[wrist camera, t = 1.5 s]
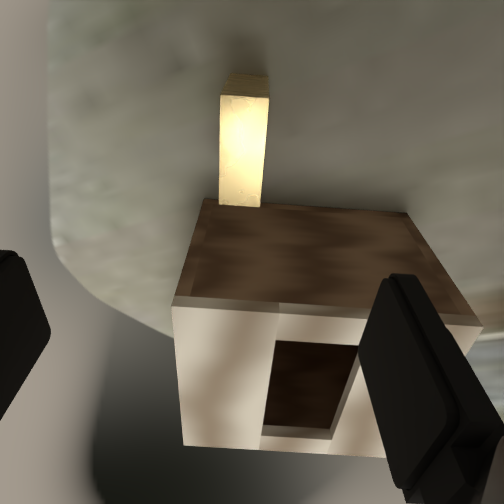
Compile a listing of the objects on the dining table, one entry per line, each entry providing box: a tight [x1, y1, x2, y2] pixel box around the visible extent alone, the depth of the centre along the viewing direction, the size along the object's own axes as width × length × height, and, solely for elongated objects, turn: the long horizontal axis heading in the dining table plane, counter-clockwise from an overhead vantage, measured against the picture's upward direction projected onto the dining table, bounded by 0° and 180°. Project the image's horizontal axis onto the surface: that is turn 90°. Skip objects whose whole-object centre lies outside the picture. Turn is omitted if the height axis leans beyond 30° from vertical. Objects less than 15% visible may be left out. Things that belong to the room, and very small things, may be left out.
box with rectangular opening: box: [171, 199, 484, 458], centre depth 27 cm, size 16×14×12 cm
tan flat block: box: [219, 73, 269, 207], centre depth 22 cm, size 2×6×6 cm, turn 176°
